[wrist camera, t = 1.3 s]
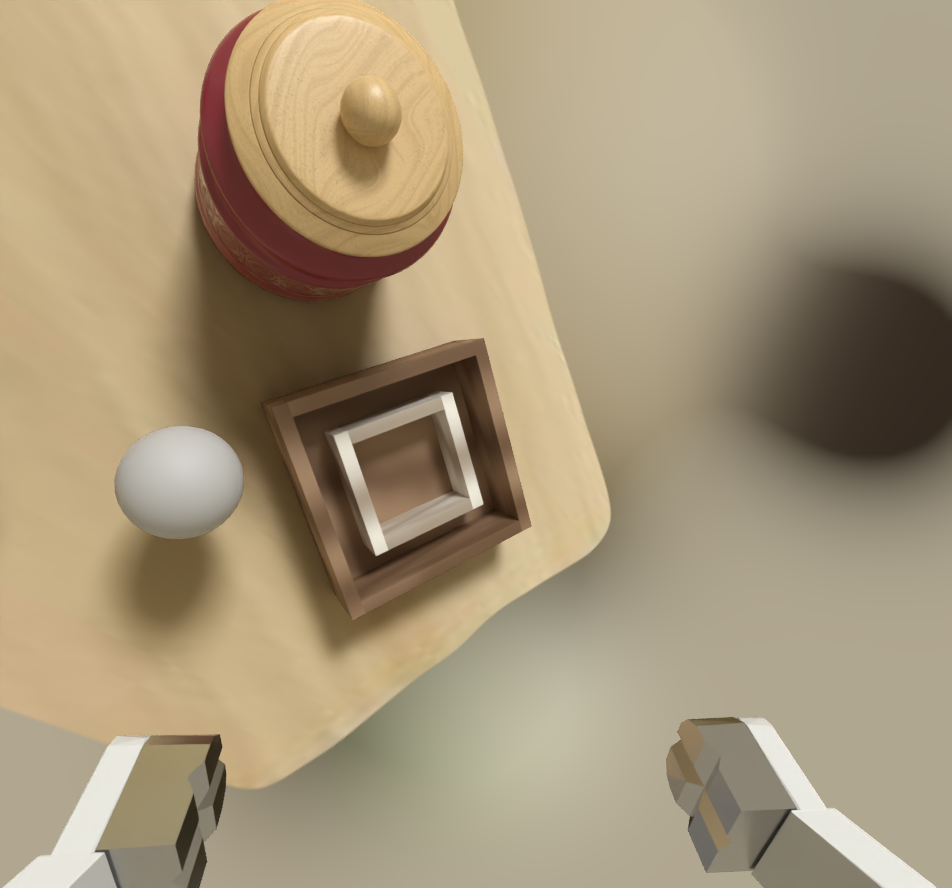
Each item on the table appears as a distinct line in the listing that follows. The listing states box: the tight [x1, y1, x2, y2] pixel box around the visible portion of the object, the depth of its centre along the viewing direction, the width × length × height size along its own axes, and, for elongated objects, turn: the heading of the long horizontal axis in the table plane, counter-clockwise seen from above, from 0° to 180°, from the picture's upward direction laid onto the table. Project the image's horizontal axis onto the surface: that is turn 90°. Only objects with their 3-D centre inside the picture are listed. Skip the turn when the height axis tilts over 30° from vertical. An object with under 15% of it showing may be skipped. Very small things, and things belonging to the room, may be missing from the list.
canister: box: [195, 0, 463, 301], centre depth 30 cm, size 13×13×18 cm
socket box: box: [261, 338, 531, 620], centre depth 41 cm, size 16×16×5 cm
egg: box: [114, 426, 244, 539], centre depth 31 cm, size 6×6×11 cm
